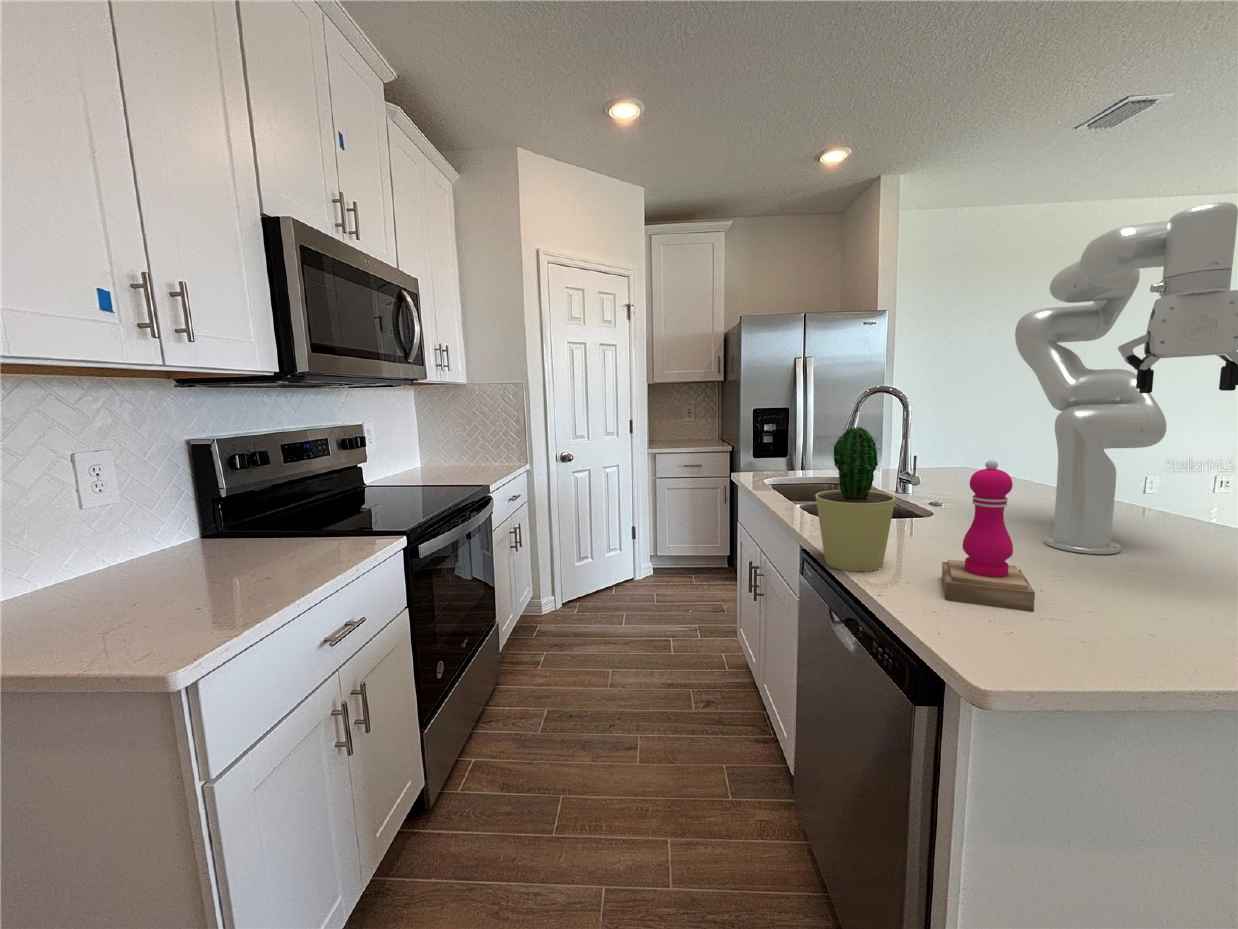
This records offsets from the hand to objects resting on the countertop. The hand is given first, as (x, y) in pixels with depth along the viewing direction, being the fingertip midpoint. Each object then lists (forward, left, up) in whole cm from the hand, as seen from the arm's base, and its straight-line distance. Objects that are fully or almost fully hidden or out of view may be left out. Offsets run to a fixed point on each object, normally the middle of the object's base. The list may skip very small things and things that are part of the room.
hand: (1184, 391), depth 85 cm
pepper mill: (+15, -28, -31) cm, 44 cm away
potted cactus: (+6, -50, -34) cm, 61 cm away
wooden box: (+15, -28, -34) cm, 47 cm away
